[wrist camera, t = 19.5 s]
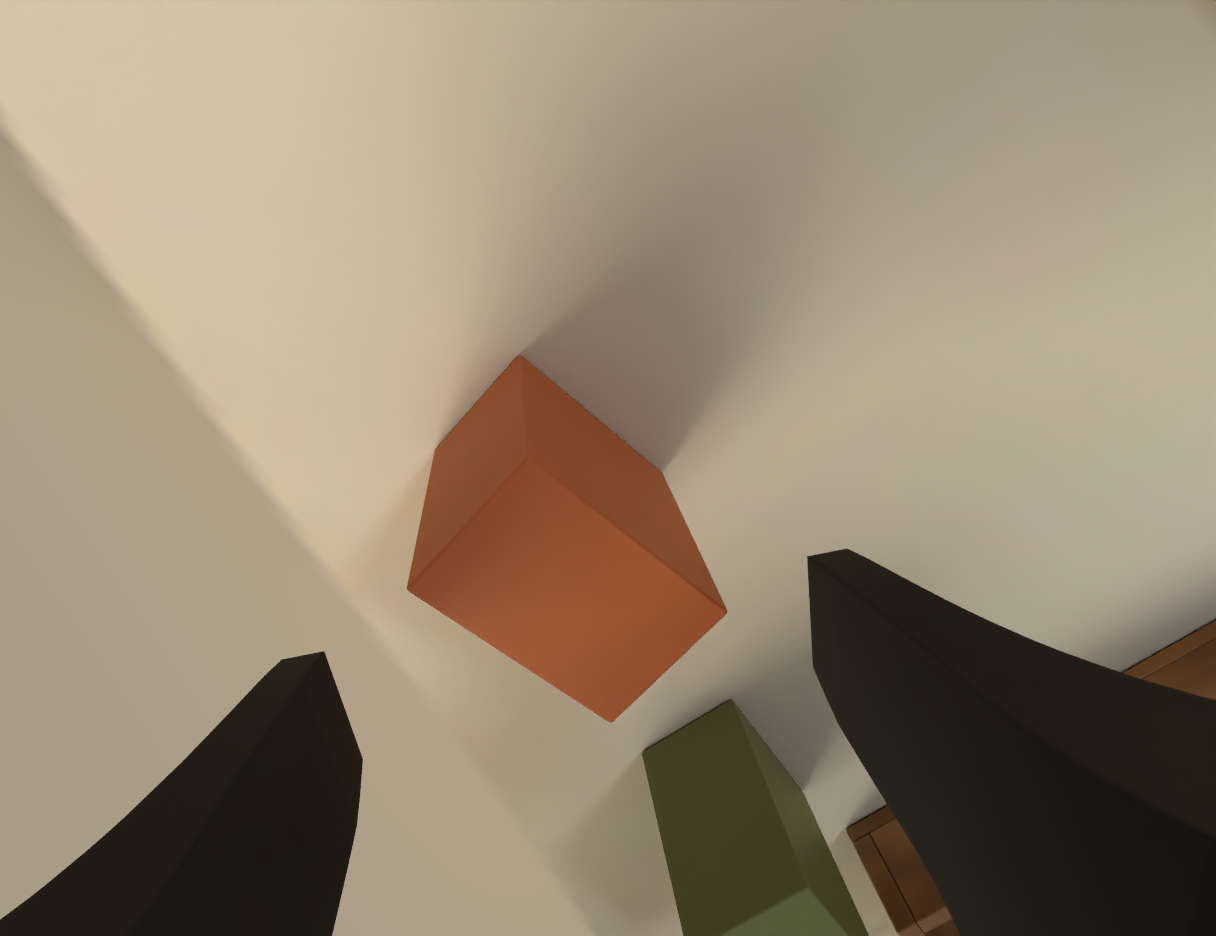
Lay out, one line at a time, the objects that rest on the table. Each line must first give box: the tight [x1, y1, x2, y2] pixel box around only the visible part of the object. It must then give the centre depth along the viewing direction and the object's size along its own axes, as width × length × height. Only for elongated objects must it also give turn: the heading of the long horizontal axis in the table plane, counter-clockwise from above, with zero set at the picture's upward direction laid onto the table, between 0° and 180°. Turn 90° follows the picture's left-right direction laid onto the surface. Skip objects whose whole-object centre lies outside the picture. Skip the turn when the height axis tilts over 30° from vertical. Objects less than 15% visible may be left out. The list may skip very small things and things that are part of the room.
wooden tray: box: [846, 621, 1216, 936], centre depth 24 cm, size 13×11×4 cm
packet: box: [642, 700, 869, 936], centre depth 20 cm, size 3×4×6 cm, turn 33°
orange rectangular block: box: [407, 355, 727, 723], centre depth 16 cm, size 3×4×6 cm, turn 47°
